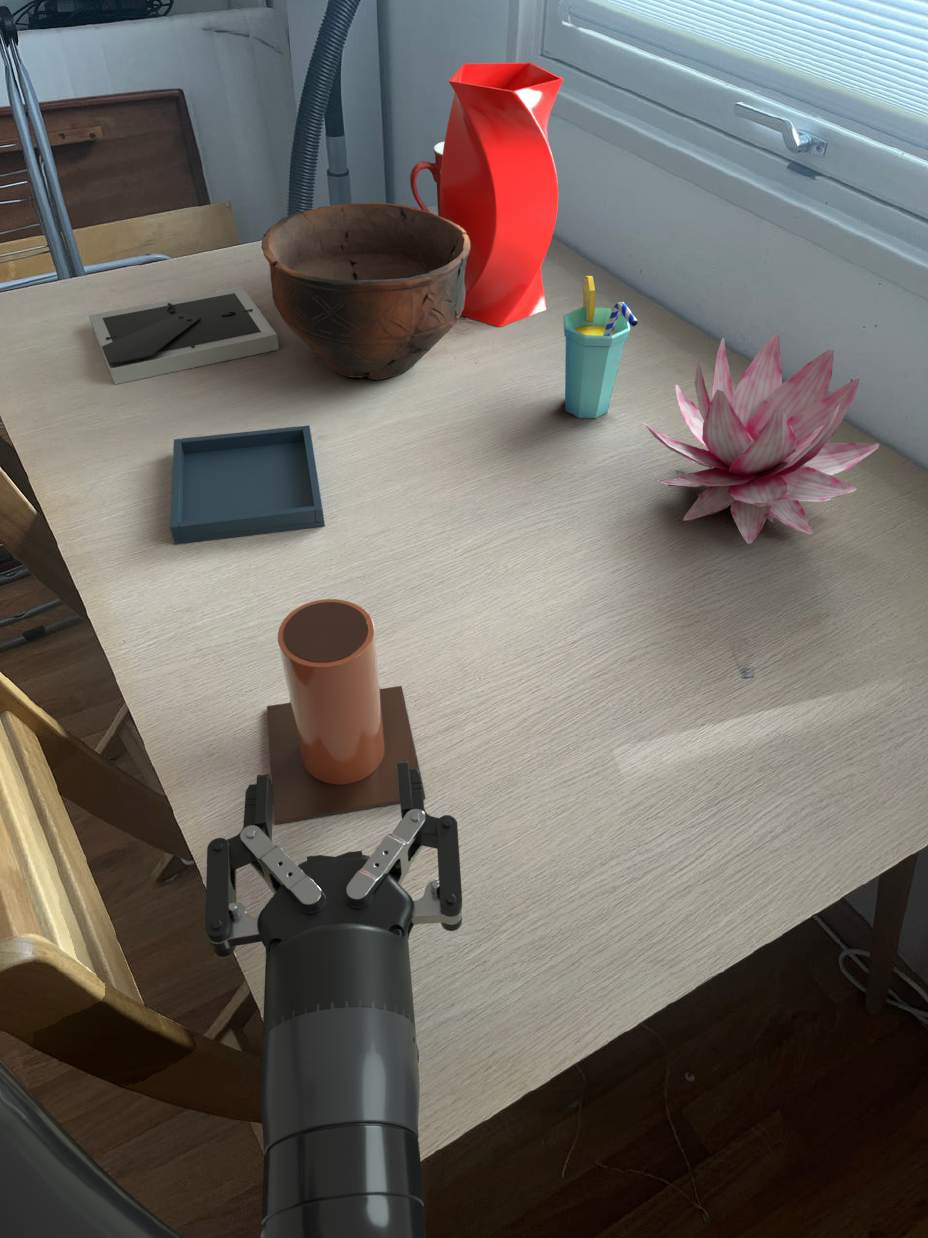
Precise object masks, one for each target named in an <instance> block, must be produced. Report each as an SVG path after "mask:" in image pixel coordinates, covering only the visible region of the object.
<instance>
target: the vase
mask: <svg viewBox="0 0 928 1238" xmlns="http://www.w3.org/2000/svg"><path fill="white" fill-rule="evenodd" d="M447 81H448V83H449V84H450V86H451V88H452V89H453V91H454V94H453V97H452V101H451V102H452V103H451V106H450V112H449V115H448V120H447V126H446V130H445V137H444V141H445V142H444V141H443V142H444V149H443V157H442V165H441V177H440V217H443V218H445V219H447V220H450V221H452V222H453V223H454V224H457V225H459V226H460V227H461V228H463V229H464V230H465V231H466V232H467V235H468V237H469V239H470V251H469V254H468V257H467V260H466V266H465V274H464V285H465V291H466V293H465V304H464V310H463V311H462V313H461V316H462V317H466V318H469V319H473V320H475V321H479V322H482V323H485V324H489V325H491V326H495V327H498V328H500V327H504V326H506V325H509V324H511V323H514V322H517V321H520V320H522V319H525V318H528V317H531V316H533V315H536V314H539V313H542V312H544V311H547V304H546V297H545V292H544V284H543V277H542V269H541V268H542V264H543V262H544V260H545V257H546V255H547V253H548V250H549V247H550V244H551V241H552V238H553V234H554V230H555V226H556V221H557V216H558V207H559V182H558V173H557V169H556V164H555V160H554V156H553V153H552V150H551V146H550V143H549V137H548V136H549V135H548V123H549V120H550V119H549V118H550V115H551V111H552V109H553V106H554V103H555V100H556V98H557V95H558V94H559V90H560V88H561V86H562V83H563V81H564V78H563V77H561V76H559V75H557V74H554V73H553V72H551V71H549V70H547V69H545V68H544V67H541V66H539V65H537V64H536V63H534V62H479V63H478V62H473V63H471V62H470V63H469V62H468V63H463V64H462V65H460V67H459V68H458V69H457V71H455V72H454V74H453V75H452V76H451V77H450V78H449V79H448V80H447Z"/></svg>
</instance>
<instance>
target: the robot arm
mask: <svg viewBox="0 0 928 1238" xmlns="http://www.w3.org/2000/svg"><path fill="white" fill-rule="evenodd" d="M397 767H398V780H399V792H400V803H399V804H400V813H401V816H400V817H401V820H400V821H399V823H398V824H397V825H396V827H394V830H393V831H392V832H391V833H388V834H386V835H385V836H384V837H383V839H382V840H381V841H380V843H379V845H377V847H376V849H374V851H373V852H372V854H371V855H367V854H363V850H357V851H348V852H345V853H341V854H338V855H336V856H330V855H324V854H323V855H322V854H318V855H308V856H306V860H305V861H302V862H301V863H299V864H297V863H296V862H295V861H294V860H293V859H292V858H291V857H290V856H289V854H287V852H285V850H283V848H282V847H281V846H280V845H276V844H275V843H274V842H273V823H274V809H273V787H272V779H271V774H269V773H267V774H266V773H265V774H257V775H256V782H255V783H252V784H248V787H247V788H246V790H245V795H244V812H243V823H242V828H241V830H240V832H239V833H238V834H236V835H234V836H233V837H230V838H227V839H225V838H224V837H217V838H213V839H212V840H211V841H210V842H209V843H208V845H207V849H206V881H205V882H206V883H205V917H204V918H205V920H204V930H205V932H206V935H207V938H208V940H209V943H210V946H211V947H212V949H213V951H214V953H215V954H216V956H219V957H223V958H225V957H228V956H230V955H231V954H233V953H234V952H235V950H236V947H238V946H244V945H249V944H254V943H262V945H263V946H264V948H265V964H264V965H265V967H264V968H265V969H264V991H263V992H264V993H263V995H264V996H263V1017H262V1019H263V1020H262V1021H263V1022H262V1039H261V1040H262V1041H261V1042H262V1043H261V1066H260V1067H261V1069H260V1119H261V1127H262V1137H263V1138H262V1140H263V1173H262V1199H261V1200H262V1203H261V1229H260V1238H427V1233H426V1223H425V1222H426V1219H425V1218H426V1217H425V1207H424V1206H425V1205H424V1203H425V1201H424V1190H423V1189H424V1188H423V1178H422V1177H423V1176H422V1162H421V1149H420V1141H419V1138H420V1137H419V1134H420V1133H419V1115H420V1114H419V1113H420V1095H421V1094H420V1091H421V1086H420V1085H421V1084H420V1067H419V1062H420V1051H419V1047H418V1044H417V1032H416V1020H415V1018H416V1017H415V1007H414V1005H415V1004H414V995H413V994H414V993H413V982H412V969H411V957H410V945H409V943H410V942H409V939H410V934H411V931H412V930H413V928H414V926H415V925H425V924H427V925H429V924H440V925H441V927H442V928H443V929H444V930H445V931H447V932H455V931H458V930H459V929H460V928H461V926H462V924H463V890H462V875H461V874H462V873H461V859H460V845H459V844H460V843H459V830H458V829H459V828H458V827H459V826H458V821H457V819H456V818H455V817H454V816H452V815H449V814H444V815H442V816H440V817H436V816H432V815H430V814H429V813H428V812H427V811H426V809H425V802H424V799H423V791H422V783H423V781H422V782H421V778H422V774H421V775H420V773H421V772H420V773H419V772H418V770H417V769H411V770H409V765H408V761H405V762H397ZM424 847H426V848H431V849H436V851H437V852H436V853H437V872H438V874H437V875H438V880H436V879H434V880H432V881H430V882H428V884H427V885H426V886H425V888H424V894H423V896H422V897H420V898H419V899H417V900H414V899H413V898H412V896H411V895H410V894H409V892H407V890H406V889H405V888H403V886H402V885H401V884H402V883H403V882H404V880H405V878H406V877H407V876H408V874H409V870H410V867H411V865H412V864H413V862H414V861H415V859H416V858H417V857H418V855H419V853H420V852H421V851H422V850H423V848H424ZM248 865H250V866H251V867H252V868H253V869H254V870H255V871H256V873H258V875H259V876H260V877H261V878H262V879H263V881H264V882H265V883H266V885H267V887H268V888H269V890H270V891H271V893H272V894H273V895H272V896H271V898H270V899H269V900H268V902H266V904H265V906H264V907H263V908H262V910H260V913H259V915H258V916H257V917H256V918H255V917H251V916H249V914H248V911H247V909H246V906H245V905H244V904H243V903H241V902H237V870H238V869H240V868H242V867H246V866H248ZM0 1238H185V1237H184V1236H183V1235H181V1234H180V1233H179V1232H177V1231H176V1230H175V1229H173V1228H172V1227H171V1226H169V1224H167V1223H165V1222H164V1220H162V1219H160V1218H159V1217H158V1216H156V1215H155V1214H154V1213H153V1212H151V1210H149V1209H148V1208H147V1207H145V1205H144V1204H142V1203H141V1202H140V1201H139V1200H137V1198H136V1197H134V1196H133V1195H132V1194H130V1192H128V1191H127V1190H126V1189H125V1188H124V1187H123V1186H121V1185H120V1184H119V1183H118V1182H117V1181H116V1180H115V1179H114V1178H113V1177H112V1176H111V1175H110V1174H109V1173H108V1172H107V1171H106V1170H105V1169H104V1168H103V1167H102V1166H101V1165H100V1164H99V1163H98V1162H97V1161H96V1160H95V1159H93V1157H91V1155H89V1154H88V1152H87V1151H86V1150H85V1149H84V1148H83V1147H82V1146H81V1145H80V1144H79V1143H78V1142H77V1141H76V1139H74V1138H73V1136H71V1134H70V1133H69V1132H68V1131H67V1130H66V1129H65V1128H64V1127H63V1126H62V1125H61V1124H60V1122H59V1121H58V1120H57V1119H56V1118H55V1117H54V1116H53V1115H52V1113H51V1112H50V1111H49V1110H48V1109H47V1108H46V1107H45V1105H43V1104H42V1102H41V1101H40V1100H39V1099H38V1098H37V1097H36V1096H35V1095H34V1093H33V1092H32V1091H31V1090H30V1089H29V1088H28V1087H27V1086H26V1084H25V1083H24V1082H23V1080H21V1079H20V1078H19V1077H18V1076H17V1074H15V1072H14V1071H13V1070H12V1069H11V1068H10V1067H9V1066H8V1064H7V1063H5V1062H4V1061H3V1059H2V1058H1V1057H0Z"/></svg>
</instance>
